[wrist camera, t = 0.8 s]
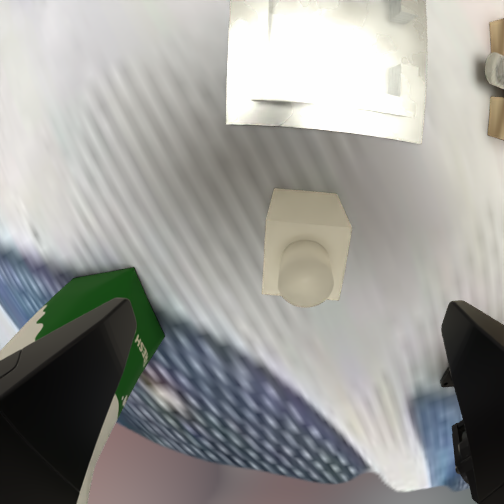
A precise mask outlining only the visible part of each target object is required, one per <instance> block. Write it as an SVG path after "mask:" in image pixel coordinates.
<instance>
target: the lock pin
mask: <svg viewBox="0 0 504 504" xmlns="http://www.w3.org/2000/svg"><path fill="white" fill-rule="evenodd" d="M485 74H486V78H487V80H488V82H489V83H490V84H492V85H494V86H497V87H499V88H502V89H504V56H503V55H501V54H499V53H496V52H493V53H491V54H490V55H489V56H488V58H487V60H486V64H485Z"/></svg>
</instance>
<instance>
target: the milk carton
mask: <svg viewBox="0 0 504 504" xmlns="http://www.w3.org/2000/svg"><path fill="white" fill-rule="evenodd" d="M114 298H127V299H129V300H130V302H131V305H132V308H133V312H134V315H135V318H136V322H137V328H136V332H135V335H134V339H133V342H132V345H131V349H130V352H129V355H128V359H127V362H126V366H125V369H124V372H123V375H122V377H121V380H120V382H119V385H118V387H117V390H116V392H115V395H114V397H113V400H112V403H111V405H110V408H109V410H108V413H107V416H106V418H105V421H104V424H103V426H102V429H101V432H100V435H99V437H98V440H97V443H96V446H95V448H94V451H93V454H92V457H91V460H90V463H89V466H88V469H87V472H86V475H85V478H84V481H83V484H82V487H81V490H80V494H79V497H78V501H77V504H87V503H88V498H89V492H90V487H91V482H92V476H93V472H94V468H95V465H96V462H97V460H98V458H99V456H100V454H101V451H102V450H103V447H104V445H105V443H106V441H107V439H108V437H109V435H110V433H111V431H112V429H113V427H114V425H115V423H116V421H117V419H118V417H119V415H120V413H121V411H122V409H123V407H124V405H125V403H126V401H127V399H128V397H129V395H130V393H131V392H132V390H133V388H134V386H135V384H136V382H137V380H138V378H139V377H140V375H141V373H142V372H143V370H144V369H145V367H146V365H147V364H148V362H149V361H150V359H151V358H152V356H153V354H154V353H155V351H156V350H157V348H158V346H159V345H160V343H161V342H162V340H163V339H164V337H165V335H164V333H163V331H162V329H161V327H160V325H159V323H158V321H157V318H156V316H155V314H154V312H153V310H152V308H151V306H150V303H149V301H148V299H147V297H146V294H145V292H144V290H143V288H142V285H141V283H140V281H139V278H138V276H137V274H136V271H135V269H134V267H133V268H128V269H122V270H116V271H111V272H105V273H100V274H94V275H89V276H83V277H78V278H73V279H72V280H71V281H70V282H69V283H68V284H67V285H65V286H64V287H63V288H62V289H61V290H60V291H59V292H58V293H57V294H55V295H54V296H53V297H52V298H51V299H50V300H49V301H48V302H47V303H46V304H45V305H44V306H43V307H42V308H41V309H40V310H39V311H38V312H37V313H36V314H35V315H34V316H33V317H32V318H31V319H30V320H29V321H28V322H27V323H26V324H25V325H24V326H23V327H22V328H21V329H20V330H19V331H18V333H17V334H16V335H15V336H14V337H13V338H12V339H11V340H10V341H9V342H8V343H7V344H6V345H5V347H4V348H3V349H2V350H1V351H0V360H2V359H4V358H6V357H7V356H9V355H11V354H13V353H15V352H17V351H18V350H20V349H23V348H24V347H26V346H27V345H29V344H31V343H33V342H35V341H36V340H38V339H40V338H42V337H44V336H45V335H47V334H49V333H51V332H53V331H55V330H56V329H58V328H60V327H62V326H64V325H65V324H67V323H69V322H71V321H73V320H75V319H77V318H78V317H80V316H82V315H84V314H86V313H88V312H89V311H91V310H93V309H95V308H97V307H99V306H101V305H103V304H104V303H106V302H108V301H110V300H112V299H114Z"/></svg>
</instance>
